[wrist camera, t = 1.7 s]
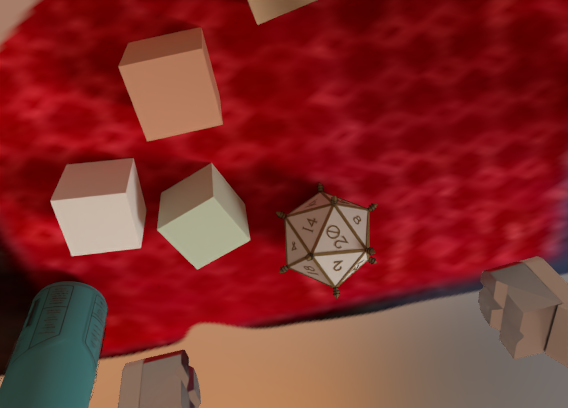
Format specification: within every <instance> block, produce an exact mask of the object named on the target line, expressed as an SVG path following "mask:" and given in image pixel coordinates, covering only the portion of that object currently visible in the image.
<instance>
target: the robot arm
mask: <svg viewBox="0 0 568 408" xmlns="http://www.w3.org/2000/svg"><path fill="white" fill-rule="evenodd" d="M480 281H481V282H482V284H483V285H484V287H483V288H482V290H481V291H480V292H479V300H478V302H479V306H480V310H481V312H482V314H483V316H484V318H485V320H486V321H487V323H488V324H489V326H491V327H493V328H495V329H497V330H499V331H500V335H499V340H500V341H501V342H502V344H503V345H504V347H505V348H506V349H507V351H508V352H509V354H510V355H511V356H512V358H513V359H518V358H522V357H526V356H530V355H534V354H539V353H542V352H545V354H547V355H548V356H550V357H551V358H553V359H555V360H556V361H558V362H559V363H561V364H563V365H564V366H566V367H568V283H567V282H565V280H564V279H563V278H562V277H561V276H560V275H559V274H558V273H557V272H556V271H555V270H553V269H552V268H551V267H550V266H549V265H548V264H547V263H546V262H545V261H544V260H543V259H542V258H540V257H538V256H537V257H534V258H530V259H526V260H522V261H519V262H513V263H510V264H506V265H502V266H499V267H495V268H492V269H488V270H484V271H483V273H482V274H481V280H480ZM200 404H201V400H200V389H199V383H198V379H197V375H196V373H195V370H194V368H192V367H190V366H189V358H188V356H187V354H186V352H185V350H180V351H175V352H171V353H167V354H163V355H158V356H154V357H150V358H146V359H142V360H138V361H134V362H130V363H126V364H125V366H124V368H123V372H122V379H121V388H120V395H119V403H118V408H198V407H199V405H200Z"/></svg>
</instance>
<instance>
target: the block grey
mask: <svg viewBox="0 0 568 408" xmlns="http://www.w3.org/2000/svg"><path fill="white" fill-rule="evenodd" d="M50 202H51V205H52V207H53V210H54V212H55V215H56V217H57V220H58V222H59V225H60V227H61V230H62V232H63V235H64V237H65V240H66V243H67V245H68V248H69V250H70V253H71V255H72V256H78V255H86V254H95V253H103V252H111V251H119V250H128V249H136V248H141V244H142V238H143V231H144V224H145V218H146V211H147V210H146V206H145V202H144V198H143V194H142V190H141V186H140V182H139V178H138V174H137V170H136V166H135V162H134V158H128V159H118V160H108V161H98V162H88V163H78V164H68V165H66V167H65V169H64V171H63V174H62V176H61V178H60V180H59V182H58V185H57V187H56V189H55V191H54V193H53V196H52V198H51V200H50Z"/></svg>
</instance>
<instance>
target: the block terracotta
mask: <svg viewBox="0 0 568 408" xmlns="http://www.w3.org/2000/svg"><path fill="white" fill-rule="evenodd" d="M118 68H119V70H120V73H121V75H122V78H123V80H124V83H125V85H126V88H127V91H128V93H129V96H130V98H131V101H132V103H133V106H134V109H135V111H136V114H137V116H138V119H139V121H140V124H141V127H142V129H143V132H144V134H145V137H146V139H147V141H152V140H156V139H160V138H165V137H169V136H174V135H178V134H183V133H187V132H192V131H196V130H201V129H205V128H210V127H214V126H219V125H223V122H222V113H221V104H220V96H219V92H218V88H217V84H216V81H215V77H214V73H213V69H212V65H211V62H210V58H209V54H208V50H207V47H206V43H205V39H204V35H203V31H202V28H201V27H199V28H194V29H189V30H185V31H180V32H176V33H171V34H166V35H162V36H157V37H152V38H148V39H143V40H139V41H134V42H129V43H128V45H127V47H126V49H125V52H124V54H123V56H122V59H121V61H120V64H119V66H118Z"/></svg>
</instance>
